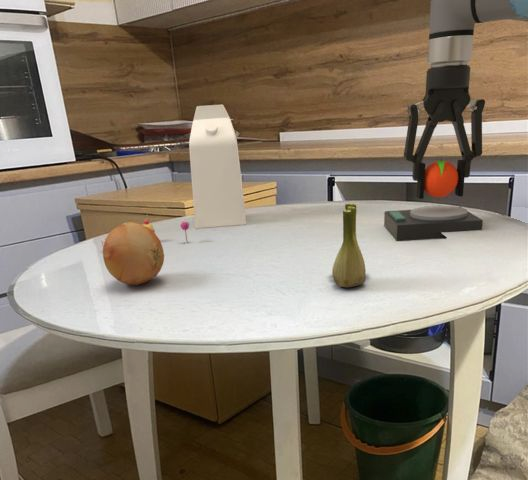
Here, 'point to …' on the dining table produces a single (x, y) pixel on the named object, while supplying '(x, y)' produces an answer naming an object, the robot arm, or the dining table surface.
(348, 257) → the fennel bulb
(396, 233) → the scale
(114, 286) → the dining table surface
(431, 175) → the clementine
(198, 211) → the milk
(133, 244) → the onion
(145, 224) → the candy
